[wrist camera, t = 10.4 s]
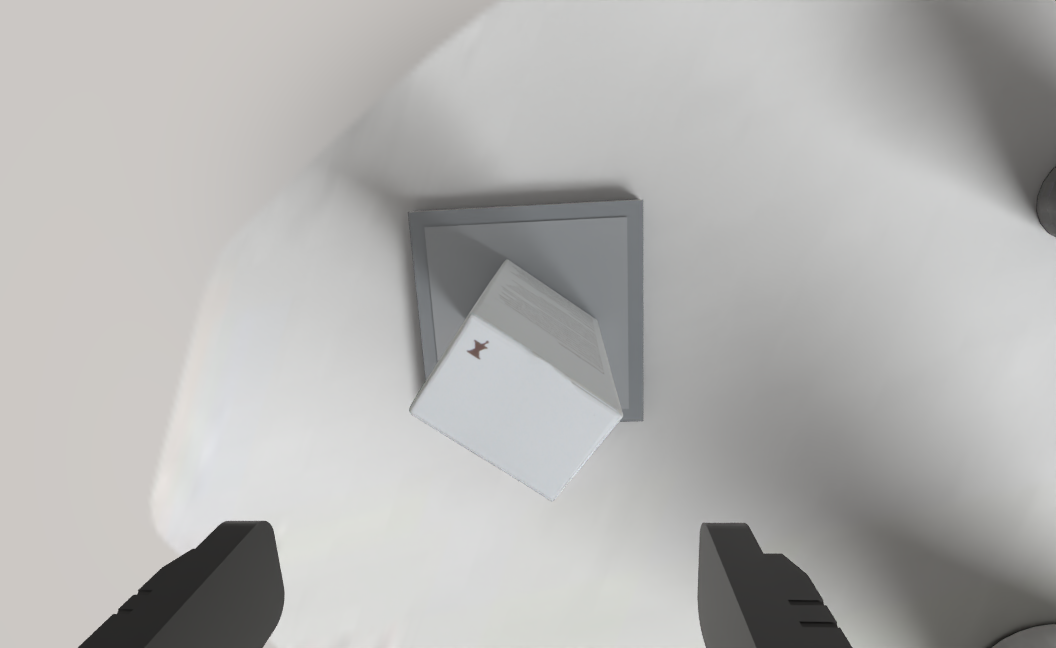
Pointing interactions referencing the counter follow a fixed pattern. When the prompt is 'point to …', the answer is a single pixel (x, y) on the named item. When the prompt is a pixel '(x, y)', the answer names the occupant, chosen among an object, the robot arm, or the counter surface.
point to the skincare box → (524, 383)
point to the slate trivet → (538, 272)
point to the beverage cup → (1048, 203)
